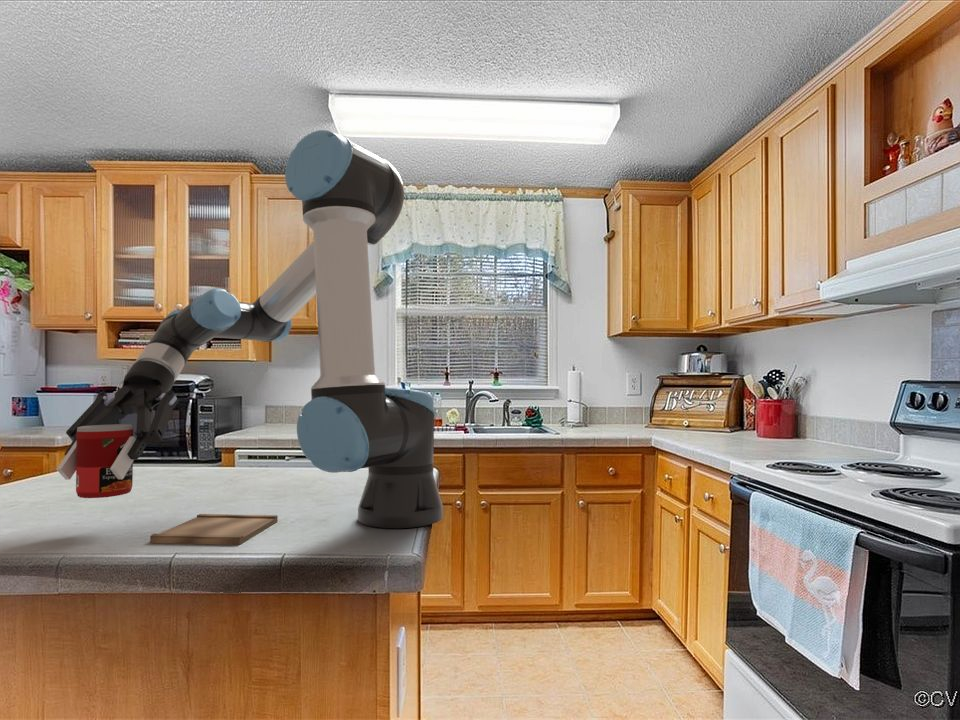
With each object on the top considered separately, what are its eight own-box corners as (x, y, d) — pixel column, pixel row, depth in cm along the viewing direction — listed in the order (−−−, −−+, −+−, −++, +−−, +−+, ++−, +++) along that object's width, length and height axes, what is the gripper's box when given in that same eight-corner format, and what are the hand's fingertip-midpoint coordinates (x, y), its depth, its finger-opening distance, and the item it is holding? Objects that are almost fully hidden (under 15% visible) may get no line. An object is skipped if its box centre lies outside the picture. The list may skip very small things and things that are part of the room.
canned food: (105, 499, 89) (106, 427, 89) (62, 497, 90) (63, 427, 91) (144, 490, 96) (144, 424, 97) (103, 489, 98) (104, 424, 98)
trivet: (277, 521, 101) (277, 515, 101) (239, 544, 87) (239, 537, 87) (199, 520, 101) (199, 513, 101) (150, 542, 87) (150, 535, 87)
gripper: (216, 386, 109) (164, 488, 92) (110, 388, 110) (39, 488, 93) (201, 357, 104) (143, 459, 87) (90, 359, 105) (11, 459, 88)
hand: (89, 474), depth 90 cm, fingers closed on canned food, 8 cm apart
